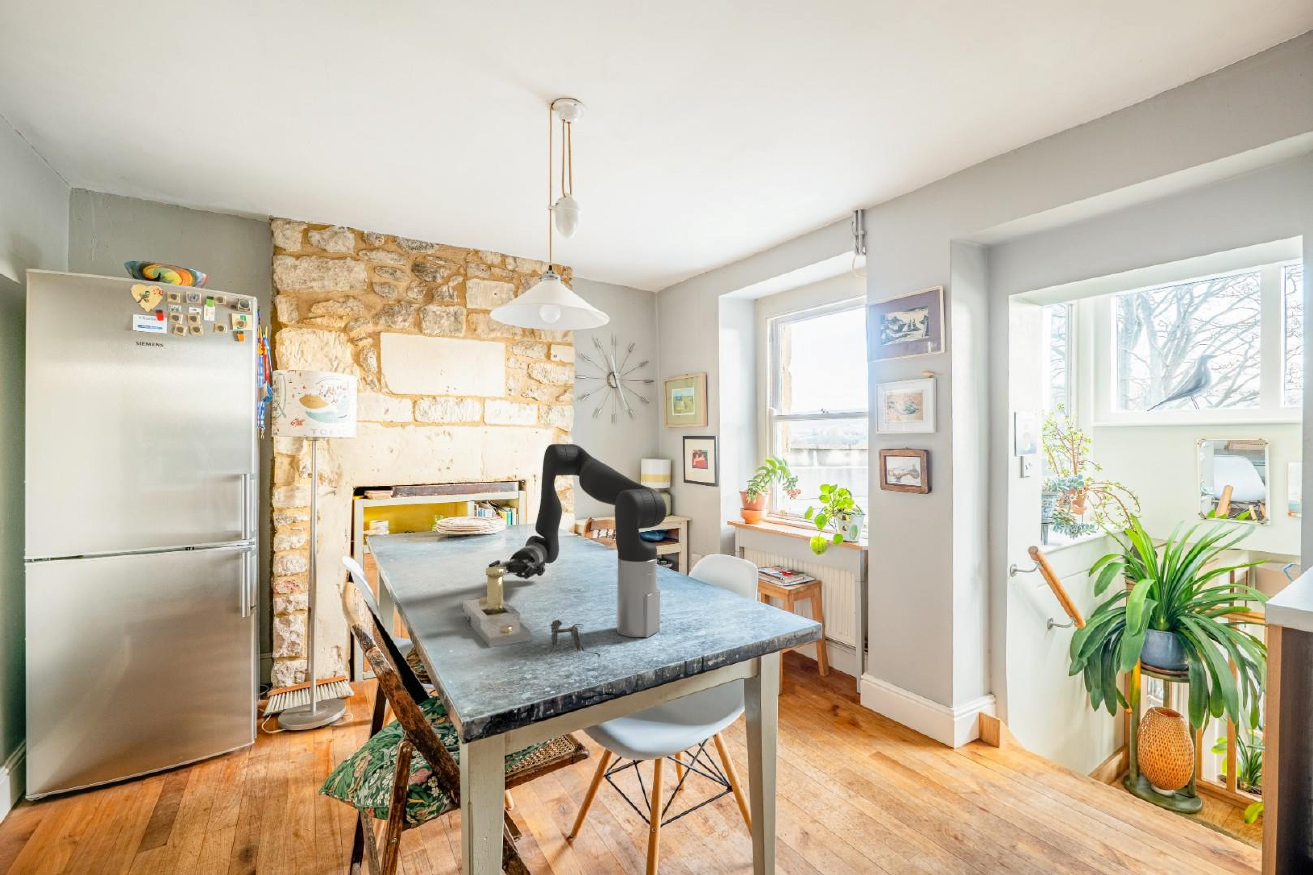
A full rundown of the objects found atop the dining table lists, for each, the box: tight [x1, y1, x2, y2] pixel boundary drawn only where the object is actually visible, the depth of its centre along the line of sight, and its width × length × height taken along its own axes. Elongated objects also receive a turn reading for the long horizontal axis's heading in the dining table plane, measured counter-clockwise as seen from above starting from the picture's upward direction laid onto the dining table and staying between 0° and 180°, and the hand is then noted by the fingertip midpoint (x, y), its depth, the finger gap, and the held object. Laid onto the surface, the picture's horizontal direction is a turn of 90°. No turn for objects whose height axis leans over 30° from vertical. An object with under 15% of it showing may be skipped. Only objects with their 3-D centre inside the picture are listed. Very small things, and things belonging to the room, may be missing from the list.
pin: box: [485, 566, 505, 616], centre depth 137 cm, size 4×4×14 cm
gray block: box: [462, 596, 531, 648], centre depth 137 cm, size 24×9×5 cm, turn 32°
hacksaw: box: [551, 619, 601, 658], centre depth 130 cm, size 24×10×2 cm, turn 9°
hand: (509, 574), depth 148 cm, fingers open, 8 cm apart
